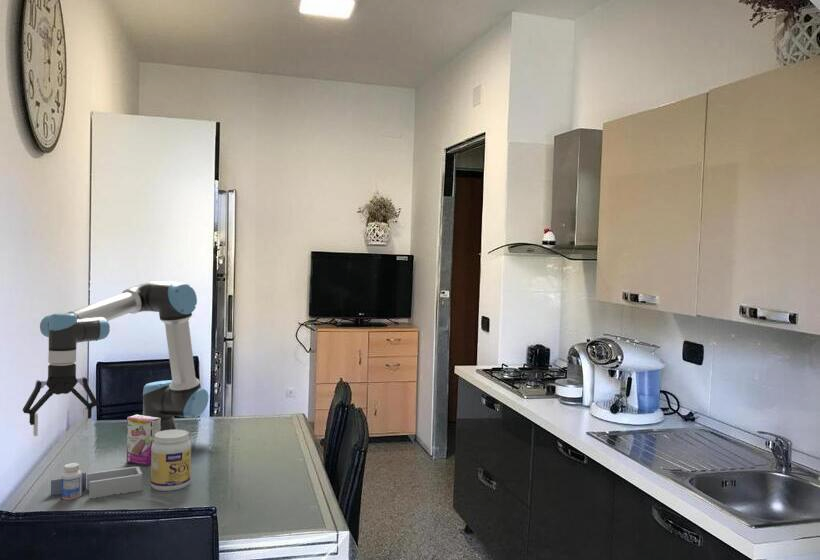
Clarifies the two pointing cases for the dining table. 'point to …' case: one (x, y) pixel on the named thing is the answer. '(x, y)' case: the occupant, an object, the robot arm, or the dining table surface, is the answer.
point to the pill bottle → (71, 481)
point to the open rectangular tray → (114, 481)
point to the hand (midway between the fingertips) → (60, 432)
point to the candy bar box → (141, 438)
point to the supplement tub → (170, 460)
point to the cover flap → (57, 485)
